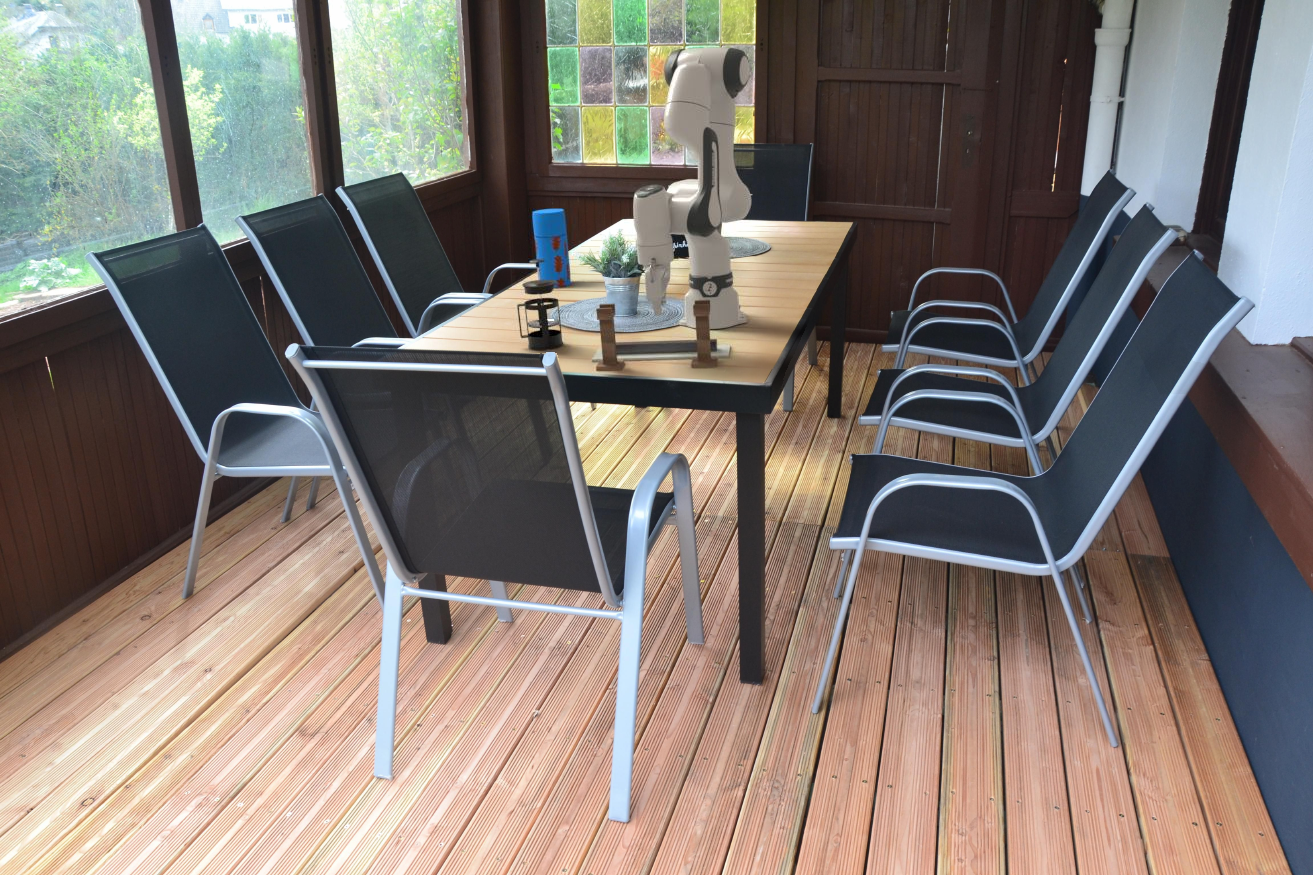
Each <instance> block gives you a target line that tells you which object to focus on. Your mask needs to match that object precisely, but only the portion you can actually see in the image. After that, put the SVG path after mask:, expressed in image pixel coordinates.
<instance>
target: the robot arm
mask: <svg viewBox="0 0 1313 875" xmlns="http://www.w3.org/2000/svg"><path fill="white" fill-rule="evenodd" d="M663 69H664V71H663V73H664V80H665V83H666V84H667V86H668V87H669V88H668V93H667V95H666V101H665V108H664V114H663V127H664V130H665V132H666V134H667V136H668V138H670V139H671V140H672V141H673V142H674V143H675V144H678V145H679V146H681V147H684V148H686V150H687V149H688V150H690V152H691V156H692V158H693V159H694V160H695V161H696V162H697V179H694V178H689V179H687V178H686V179H683V180H678V181H675V182H672V183H671V184H670V185H669V186H668V188H667V190H666V188H665V186H663V185H661V184H650V185H649V184H648V185H645V186H643V187H640V188H639V189H638V190H636V191H635V192H634V195H633V203H632V204H633V207H632V209H633V210H632V211H633V213H632V214H633V226H634V229H635V232H636V241H635V247H636V255H637V263H638V264H639V265H641V266H643V270H644V271H645V272H644V282H645V283H644V286H645V297H646V300H647V302H651V304H652V307H653V314H654V316H655V317H656V316H657V317H658V316H660V317H661V316H662V314H663V307H662V306H666V304H667V288H668V285H669V283H670V280H671V263H672V262H673V261H675V256H674V253H675V252H674V245H673V237H672V235H679V236H680V235H683V236H684V237H685V240H686V243H687V247H688V249H687V250H688V256H689V257H688V258H689V271H690V272H689V274H688V282H689V287H690V288H689V290H688V292H686V294H685V295H684V316H683V317H682V318H681V319H680V320H679V322H678V326H684V327H686V326H687V327H689V328H692V329H696V318H695V316H694V313H693V305H695V300H710V314H709V325H710V330H715V329H724V328H731V327H734V326H736V325H740V324H745V323H747V322H748V318H747V317H746V316H745V314H744V313H743V311H742V310H741V304H740V302H739V301H740V299H739V292H738V291H737V290H736V289H735V288H734V287H733V285H734V276H733V271H732V269H731V267H732V266H731V246H730V243H729V241H728V240H727V239H726V237H724V236H723V235H722V234H720V232H719V231H718V228H719V227H720V225H721V223H723V224H727V223H732V222H733V223H734V222H738V221H741V220H743V219H745V218H746V217H747V215H748V214H749V212H750V210H751V206H752V196H751V193H750V189H749V188H748V186H747V185H746V184H745V183H743V181H742V180H741V178H740V176H739V175H738V171H737V169H736V165H735V160H734V145H735V144H734V143H735V129H736V98H737V96H738V94H740V93H741V92H742V91H743V90H744V89H745V87H746V85H747V83H748V82H749V77H750V60H749V57H748V55H747V54H746V53H745V51H744V50H742V49H739V48H736V47H729V48H727V47H726V48H725V47H719V46H718V47H717V46H706V47H694V48H688V49H685V48H680V49H675V50H673V51H671V52H670V54H669V55H668V56H667V57H666V59H665V62H664V68H663Z"/></svg>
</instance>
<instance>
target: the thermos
mask: <svg viewBox="0 0 1313 875" xmlns="http://www.w3.org/2000/svg"><path fill="white" fill-rule="evenodd" d="M532 227H533V234H534V236H533V237H534V246H535V255H536V259H543V260H545V261H544V262H541V263H539V277H540V280H555V281H556V282H557V283H556V284H555V286H554V289H560V288H564V287H565V288H566V287H569V286H570V285H571V284H572V282H571V267H570V264H571V263H570V254H569V245H568V244H569V243H568V234H567V222H566V213H565V210H564V209H563V208H546V209H539V210H538V209H537V210H535V211H532Z"/></svg>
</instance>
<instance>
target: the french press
mask: <svg viewBox="0 0 1313 875" xmlns="http://www.w3.org/2000/svg"><path fill="white" fill-rule="evenodd" d="M544 261H545V260H543V259H537V258H536V259H531V260H529V262H528V263H530V264H535V268H536V270H537V280H536V279H535V280H531V281H526V282H524V283H522V287H523V288H524V293H525V294H526V295H539V297H537V298H533V299H528V300H526V301H524V303H517V305H516V308H517V309H516V310H517V317H518V326H519V334H520V338H521V339H528V341H527V342H528V345H527V348H528V349H530V350H533V351H548V350H547V349H550V350H554V349H559V348H561V347H563V345H564V341H563V334H562V324H561V313H560V304H559V299H558V298H555V297H542V295H545V294H550V293H552V292H553V291H554V289H555V288H554V286H555V284H556V283H557V282H556V281H555V280H540V277H539V263H541V262H544ZM520 307H524V314H525V322H526V332H527V334H524V335H523V334H522V323H521V314H520ZM555 308H557V312H558V319H556V318H549V317H548V310H551V309H552V310H553V309H555ZM527 311H537V313H538V315H537V316H538V319H533V320H531V321H528V315H527ZM558 325H559V329H551V327H555V326H558ZM529 328H533V329H538V330H534V331H531V332H529Z"/></svg>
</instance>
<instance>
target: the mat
mask: <svg viewBox="0 0 1313 875" xmlns="http://www.w3.org/2000/svg"><path fill="white" fill-rule="evenodd" d="M730 351H731V344H717V351H713V352H711V356H718V359H722V358H724V359H725V358H727V359H728V358H729V357H730ZM693 357H697V352H681V353H649V354H617V359H624V362H625V361H629V362H630V361H654V360H655V361H660V360H689V359H690V360H692V359H693ZM600 360H603V357H602V348H598V349H597V350H596V352H594V355H593V356H592V358H591V362H596V363H597V362H599V361H600Z"/></svg>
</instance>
